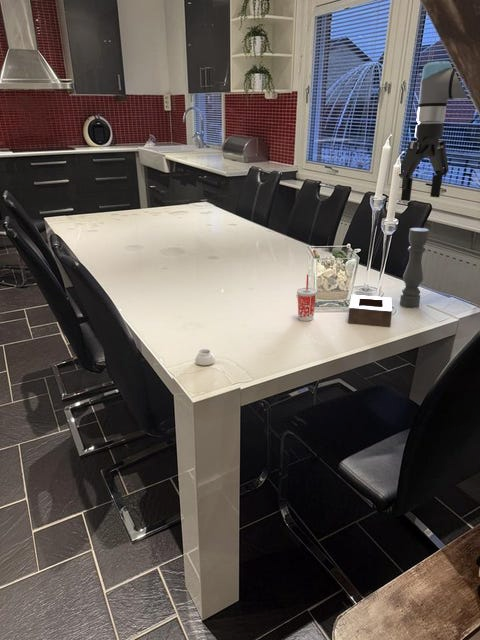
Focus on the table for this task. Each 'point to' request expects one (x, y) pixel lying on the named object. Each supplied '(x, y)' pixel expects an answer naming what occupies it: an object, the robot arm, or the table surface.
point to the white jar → (205, 357)
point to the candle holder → (414, 268)
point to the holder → (370, 310)
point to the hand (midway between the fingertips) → (420, 198)
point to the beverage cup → (306, 302)
